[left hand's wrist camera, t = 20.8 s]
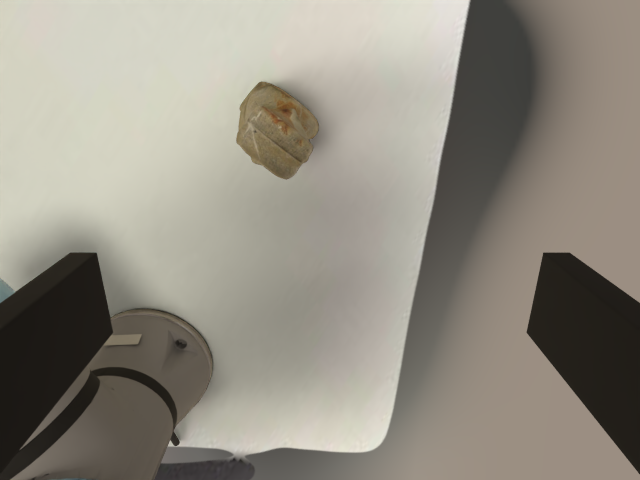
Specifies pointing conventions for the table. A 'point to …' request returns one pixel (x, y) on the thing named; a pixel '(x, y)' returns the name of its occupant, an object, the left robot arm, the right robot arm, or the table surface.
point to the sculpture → (276, 130)
